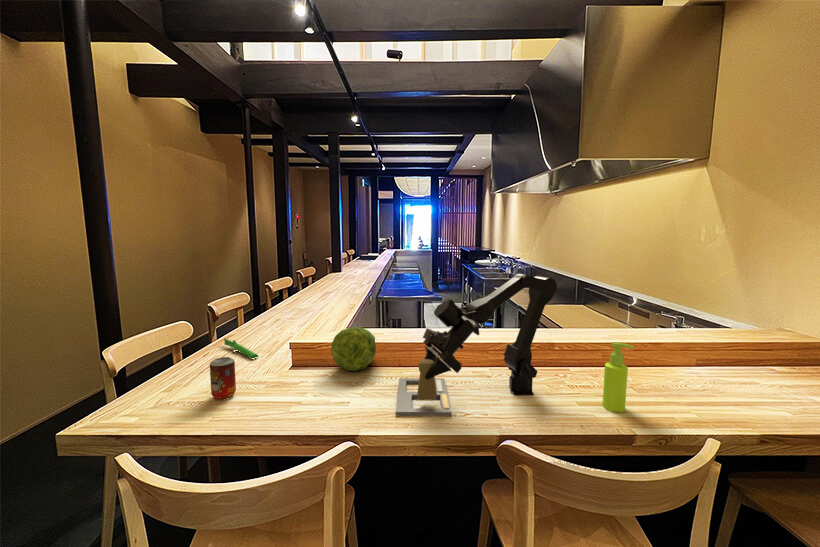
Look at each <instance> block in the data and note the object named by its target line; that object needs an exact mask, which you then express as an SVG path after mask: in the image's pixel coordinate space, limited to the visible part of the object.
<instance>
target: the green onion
mask: <svg viewBox="0 0 820 547" xmlns="http://www.w3.org/2000/svg"><path fill="white" fill-rule="evenodd" d="M223 341H224V345H225V346H228V347H231V348H234V350H235V349H236V350H238V351H240V352H241V353H240V354H243V355H244V354H245V355H244V356H246V355H247V356H246V357H248V358H249V357H250V358H249V359H251V358H255V357H258V358H259V355H258V354H257V353H255V352H253V351H251V350H250V349H249V348H247V347H245V346H243V345H242V344H239V343H238V342H237V341H236V340H235V339H233V340H232V341H231V340H229V339H227V338H225V337H223Z"/></svg>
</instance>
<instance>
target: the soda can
mask: <svg viewBox="0 0 820 547" xmlns="http://www.w3.org/2000/svg"><path fill="white" fill-rule="evenodd" d="M235 363H236V362H235V358H232V357H229V356H222V357H217V358H214V359H212V360H211V361H210V362H209V378H210V379H209V380H210V393H211V396H212V397H213V398H214V400H215V401H225V400H224V399H226V400H228V399H227V398H229V399H231V398H233V397H234V396H235V393H236V390H237V389H236V388H237V383H236V382H237V381H236V379H237V378H236V364H235ZM233 395H234V396H233ZM232 396H233V397H232ZM230 397H231V398H230Z"/></svg>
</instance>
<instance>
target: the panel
mask: <svg viewBox="0 0 820 547" xmlns="http://www.w3.org/2000/svg"><path fill="white" fill-rule="evenodd" d="M419 378H420V377H418V378H417V377H415V378H414V377H399V378H398V387H397V397H396V407H395V408H396V409H395V416H396V415H399V416H398V417H452V408H451V407H452V406H451V403H450V400H449V399H450V397H449V394H448V390H447V385H446V381H445V380H446V379H445V378H443V377H441V378H440V377H439V378H435V384H436V391H437V397H436V398H435V399H439V401H440V406H441V408H412V407H413V406H412V404H413V403H412V402H413V401H412V399H420V398H419V397H418V396H417V393H418V391H407V385H413V384H414V385H419Z"/></svg>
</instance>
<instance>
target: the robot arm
mask: <svg viewBox="0 0 820 547" xmlns="http://www.w3.org/2000/svg"><path fill="white" fill-rule="evenodd" d="M525 288H528V297H529V301H528V305H527V307H526V311H525V313H524V316H523V319H522V322H521V324H520V326H519V327H520V328H519V330H518V333H517V337H516V339H515V341H514V342H513V343H512V344H509V343H508V344H507V345H506V349H505V351H504V353H503V356H504V357H503V361H504V364H505V365H506V366H507V368H508V370H509V371H510V375H509V379H508V381H509V382H508V388H509V390H510V391H511V392H512V394H513V395H514V396H534V395H535V394H534V392H533V379H534V378H536V376H537V374H538V370H537V369H536V368H535V367H534V366H533V365H532V359H533V355H532V354H533V353H532V349H531V347H532V344H533V341H534V338H535V335H536V333H537V329H538V326H539V324H540V321H541V318H542V315H543V313H544V310H545V306H547V304H548V303H549V302H550V301H552V300H553V298H554V296H555V294H556V292H557V291H558V290H557V289H558V284H557V282H556V280H555V279H554V278H552V277H547V276H541V275H536V276H530V275H528V274H526V273H525V274H522V273H516V274H515V275H514V276H513V277H512V278H510V279H509V280H507V282H505V283H503V284H502V285H501V286H499V287H498V288H497V289H495V290H494V291H492V292H491V293H490V294H488V295H486V296H485V297H482V298H478V299H475V300H473V301H471V302H469V303H467V304H466V306H461V307H459V306H458V305H457V304H456V303H455V301H454V300H452V299H451V298H448V299H446V300H445V301H443V302H441V303H440V304H438V305H437V306H436V307H435V309H434V312H433V314H434V316H435V317H436V318H437V319H438V320H439V321H440V322H441V323H442V324H444V326H445V327H447V328H450V327H451V328H450V329H448V331H446V330H444V331H441V332H440V331H439V330H437V331H435V330H432V329H430V328H429V327H426V328H425V331H424V334H423V336H422V339H424V340H423V343H424V345H426V346H425V347H424V349H425V357H424V358H423V360H424V359H430V360H433V361H434V364H433V365H432V367H431V368H430V370H429V371H428V372H427V374H426V375H425V378H426V379H427V380H428V379H430V378H432V377H437V376H439V375H442V374H444V373H448V372H449V371H450V372H452V370H453V371H454V372H455V373H456V374H458V373H459V372H460V371H461V370H462V363H461V362H460V361H459V360H458V359H456V358H455V356H454V355H455V353H456V352H457V351H458V350H459V349H460V350H463V348H464V345H463V344H464V343H465V342H466V341H467V340H468V338H469V337H470V336H471V335H472V334H475V335H477V336H480V326H479V325H478V324H481V325H484V324H485V323H487V322H488V321H489V320H490V318H492V317H493V315H494V314H495V312H496V310H497V309H498V308H499V307H500V306H502V305H503V304H504V303H506V302H507V301H509V300H510V299H511V298H513V297H514V296H515V295H517V294H518V293H519V292H520V291H522V290H524V289H525ZM463 317H464V318H466V319H464V318H463ZM471 321H472V322H473V323H476V324H473V323H472V322H471ZM418 371H419V372H420V370H419V369H418Z"/></svg>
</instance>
